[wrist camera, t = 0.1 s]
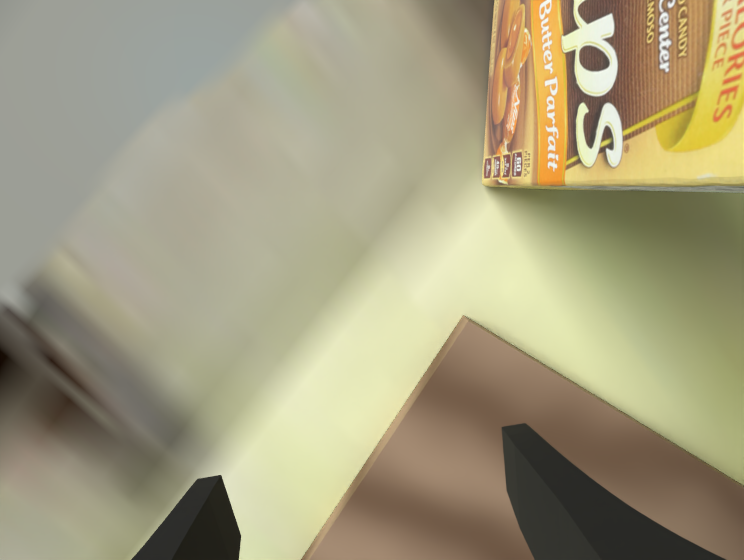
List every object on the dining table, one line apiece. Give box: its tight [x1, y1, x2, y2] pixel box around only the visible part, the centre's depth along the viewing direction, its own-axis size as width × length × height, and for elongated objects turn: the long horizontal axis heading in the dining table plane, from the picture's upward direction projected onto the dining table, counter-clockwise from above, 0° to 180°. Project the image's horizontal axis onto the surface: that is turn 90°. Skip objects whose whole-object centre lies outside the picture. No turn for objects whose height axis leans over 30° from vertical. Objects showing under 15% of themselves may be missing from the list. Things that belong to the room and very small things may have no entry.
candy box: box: [482, 0, 744, 193], centre depth 14 cm, size 9×4×15 cm, turn 178°
